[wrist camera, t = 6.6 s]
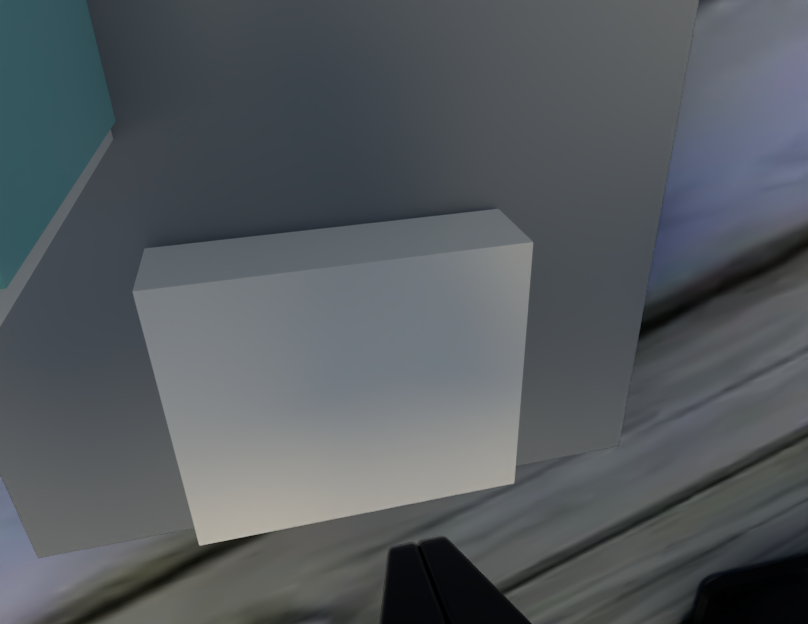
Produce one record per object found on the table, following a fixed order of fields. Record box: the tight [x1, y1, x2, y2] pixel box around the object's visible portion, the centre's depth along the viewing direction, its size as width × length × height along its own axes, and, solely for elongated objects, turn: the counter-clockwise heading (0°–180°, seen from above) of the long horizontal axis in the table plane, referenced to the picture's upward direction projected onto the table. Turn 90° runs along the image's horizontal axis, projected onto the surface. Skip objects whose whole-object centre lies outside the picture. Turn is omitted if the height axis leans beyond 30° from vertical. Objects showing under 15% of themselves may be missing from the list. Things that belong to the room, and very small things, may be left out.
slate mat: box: [0, 0, 699, 558], centre depth 13 cm, size 15×17×1 cm
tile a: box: [132, 209, 533, 546], centre depth 14 cm, size 2×6×7 cm
